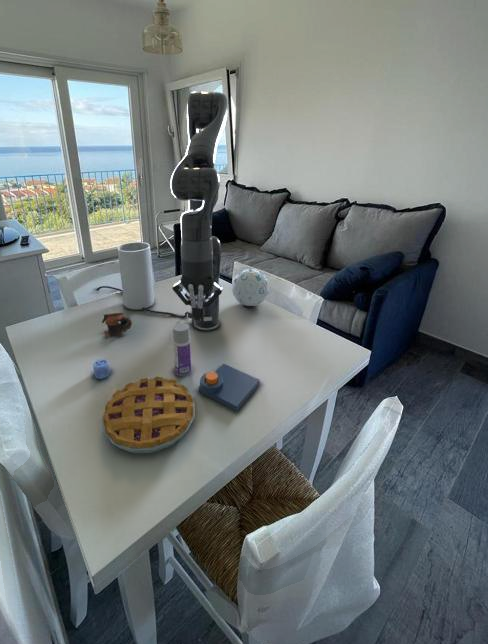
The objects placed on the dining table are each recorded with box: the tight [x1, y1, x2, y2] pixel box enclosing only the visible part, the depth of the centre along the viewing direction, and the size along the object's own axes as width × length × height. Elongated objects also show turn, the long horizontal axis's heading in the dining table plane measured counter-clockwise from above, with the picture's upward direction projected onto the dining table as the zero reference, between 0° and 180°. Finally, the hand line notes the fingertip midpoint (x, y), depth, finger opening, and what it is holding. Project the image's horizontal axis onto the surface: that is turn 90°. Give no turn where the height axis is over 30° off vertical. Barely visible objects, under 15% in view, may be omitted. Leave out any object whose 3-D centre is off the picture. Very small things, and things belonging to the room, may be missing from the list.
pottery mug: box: [101, 311, 133, 338], centre depth 113 cm, size 12×10×8 cm
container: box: [172, 322, 192, 377], centre depth 91 cm, size 5×5×15 cm
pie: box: [101, 376, 196, 454], centre depth 76 cm, size 22×22×5 cm
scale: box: [198, 363, 261, 412], centre depth 86 cm, size 12×12×4 cm
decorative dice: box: [92, 358, 110, 380], centre depth 92 cm, size 4×4×4 cm
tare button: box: [206, 371, 218, 385], centre depth 85 cm, size 3×3×2 cm
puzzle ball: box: [231, 268, 270, 307], centre depth 130 cm, size 15×15×15 cm
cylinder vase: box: [117, 241, 155, 311], centre depth 129 cm, size 12×12×25 cm
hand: (198, 319), depth 82 cm, fingers closed
